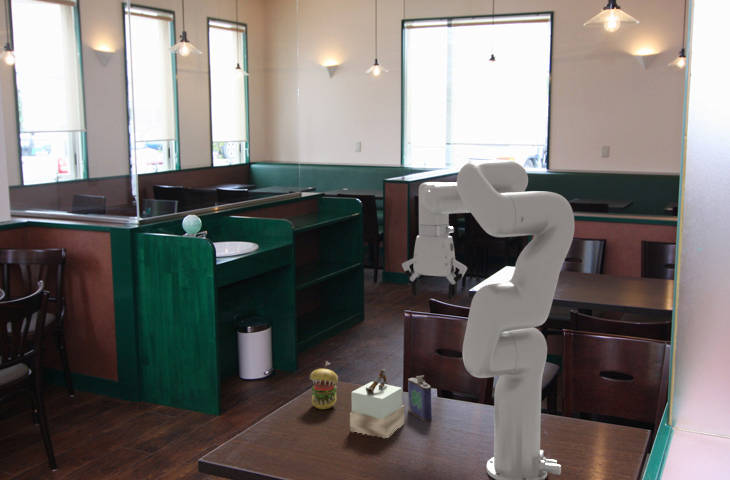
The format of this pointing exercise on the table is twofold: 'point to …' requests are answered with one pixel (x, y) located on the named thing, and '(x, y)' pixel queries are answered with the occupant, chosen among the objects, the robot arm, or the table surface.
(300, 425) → the table surface
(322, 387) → the hamburger
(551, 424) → the table surface
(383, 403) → the top block
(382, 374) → the wooden post with brackets
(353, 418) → the bottom block
